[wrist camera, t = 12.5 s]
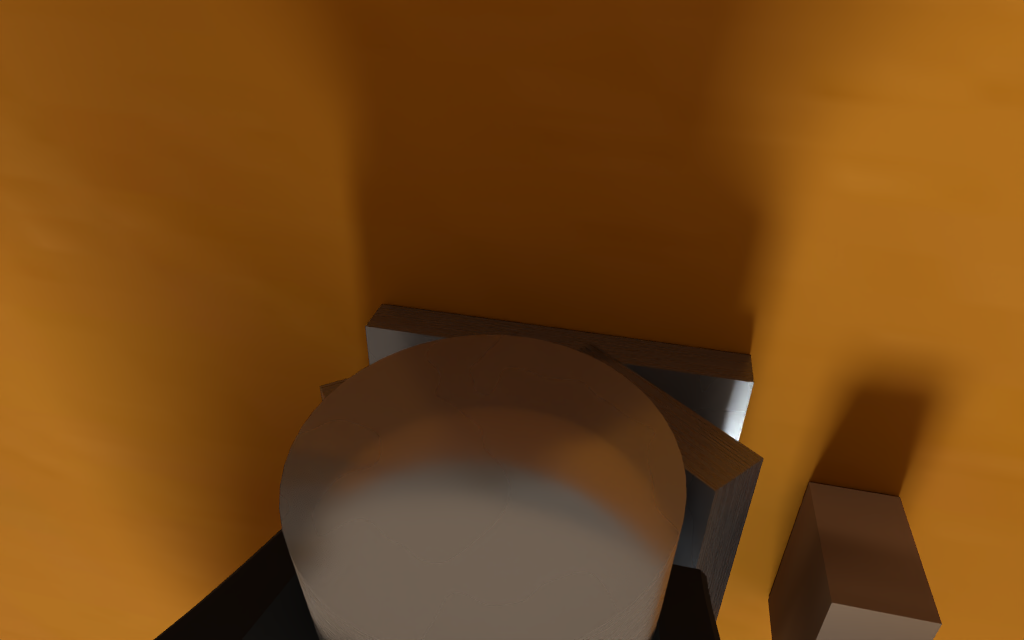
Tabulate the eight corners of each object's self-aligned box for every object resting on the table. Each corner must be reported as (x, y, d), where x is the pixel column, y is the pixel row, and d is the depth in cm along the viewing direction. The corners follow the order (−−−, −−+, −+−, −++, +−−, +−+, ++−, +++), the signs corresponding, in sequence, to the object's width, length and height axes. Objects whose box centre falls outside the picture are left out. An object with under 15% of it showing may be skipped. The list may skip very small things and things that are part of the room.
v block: (687, 610, 18) (685, 767, 15) (404, 552, 19) (346, 685, 16) (751, 355, 13) (768, 500, 10) (381, 304, 15) (295, 418, 12)
